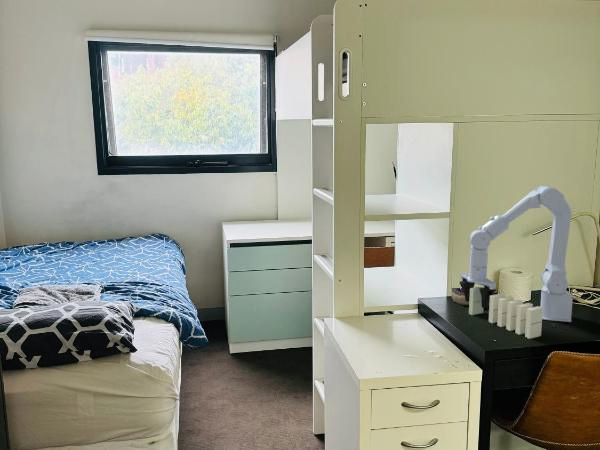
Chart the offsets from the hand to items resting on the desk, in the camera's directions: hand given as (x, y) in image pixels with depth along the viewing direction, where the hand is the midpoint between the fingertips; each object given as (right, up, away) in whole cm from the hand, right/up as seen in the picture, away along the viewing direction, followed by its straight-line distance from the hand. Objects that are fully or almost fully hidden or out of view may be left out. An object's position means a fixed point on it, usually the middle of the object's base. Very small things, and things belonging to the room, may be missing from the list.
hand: (476, 304), depth 188 cm
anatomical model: (+2, -1, +13) cm, 14 cm away
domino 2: (+4, -5, -7) cm, 10 cm away
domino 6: (+11, -7, -20) cm, 24 cm away
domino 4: (+7, -6, -14) cm, 17 cm away
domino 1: (0, -3, +1) cm, 3 cm away
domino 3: (+6, -5, -11) cm, 13 cm away
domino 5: (+9, -6, -17) cm, 20 cm away
